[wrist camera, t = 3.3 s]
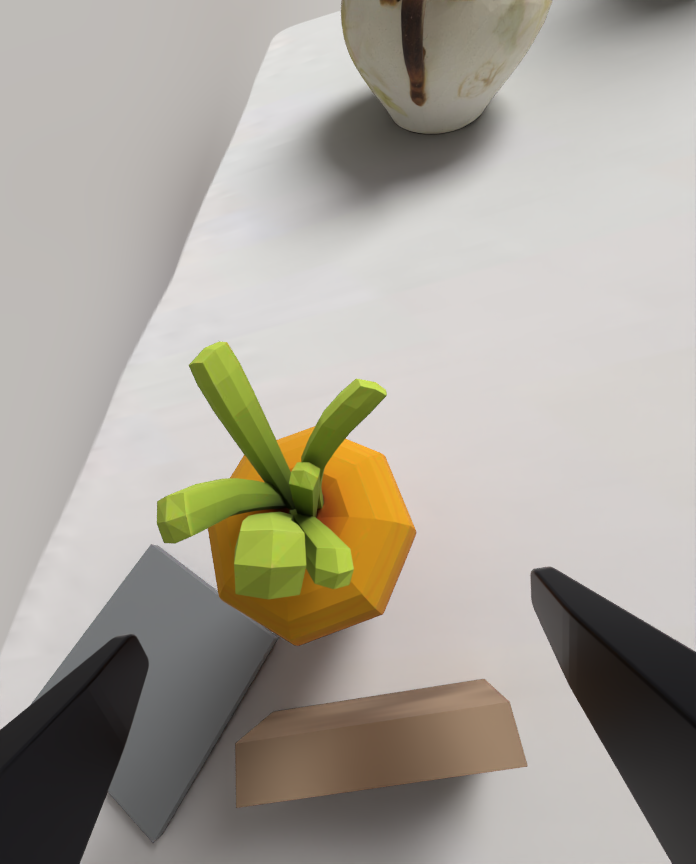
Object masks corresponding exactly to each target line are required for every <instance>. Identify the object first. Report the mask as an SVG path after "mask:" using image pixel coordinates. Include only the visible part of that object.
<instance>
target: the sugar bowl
mask: <svg viewBox="0 0 696 864" xmlns="http://www.w3.org/2000/svg"><path fill="white" fill-rule="evenodd" d="M551 3H552V0H342V2H341V21H342V29H343V35H344V40H345V43H346V46H347V49H348V52H349V55H350V57H351V59H352V61H353V63H354V65H355V66H356V68H357V70H358V71H359V73H360V75H361V76H362V78H363V79H364V81H365V82H366V83H367V85H368V86H369V88H370V89H371V90H372V92H373V93H374V94H375V96H376V97H377V98H378V99H379V101H380V102H381V103H382V105H383V106H384V107H385V108H386V110H387V111H388V113H389V114H390V116H391V117H392V119H393V120H394V122H395V123H396V124H397V125H398V126H400V127H402V128H404V129H406V130H408V131H412V132H418V133H424V134H437V133H445V132H450V131H454V130H457V129H460V128H462V127H464V126H466V125H468V124H469V123H471V122H473V121H474V120H475V119H477V118H478V117H479V116H480V115H481V114H482V112H483V111H484V109H485V108H486V106H487V105H488V103H489V102H490V101H491V99H492V98H493V97H494V95H495V94H496V93H497V92H498V90H499V89H500V88H501V87H502V85H503V84H504V83H505V82H506V80H507V79H508V78H509V76H510V75H511V74H512V73H513V71H514V70H515V69H516V67H517V66H518V65H519V63H520V62H521V60H522V59H523V57H524V56H525V54H526V53H527V51H528V50H529V48H530V47H531V45H532V43H533V42H534V40H535V38H536V36H537V34H538V33H539V31H540V29H541V27H542V25H543V24H544V22H545V19H546V17H547V14H548V11H549V9H550V6H551Z"/></svg>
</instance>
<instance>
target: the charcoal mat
mask: <svg viewBox="0 0 696 864" xmlns="http://www.w3.org/2000/svg"><path fill="white" fill-rule="evenodd" d="M125 634H134V635H136V636H137V638H138V639H139V641H140V643H141V645H142V647H143V649H144V651H145V653H146V655H147V657H148V660H149V668H148V672H147V676H146V679H145V682H144V686H143V689H142V692H141V696H140V699H139V702H138V706H137V709H136V712H135V716H134V719H133V722H132V726H131V729H130V732H129V736H128V739H127V742H126V745H125V748H124V750H123V753H122V756H121V759H120V761H119V764H118V766H117V769H116V772H115V774H114V777H113V779H112V782H111V784H110V787H109V790H108V792H109V793H110V795H111V796H112V797H113V798H114V799H115V800H116V801H117V803H118V804H119V805H120V806H121V807H122V808H123V809H124V810H125V812H126V813H127V814H128V815H129V816H130V817H131V818H132V820H133V821H134V822H135V823H136V824H137V825H138V826H139V828H140V829H141V830H142V831H143V832H144V833H145V834H146V836H147V837H148V838H149V839H150V840H151V841H152V842H153V843H154V842H155V841H156V840H157V839H158V838H159V837H160V836H161V835H162V834H163V832H164V830H165V829H166V827H167V825H168V824H169V822H170V820H171V818H172V817H173V815H174V813H175V812H176V810H177V808H178V807H179V805H180V803H181V802H182V800H183V798H184V796H185V795H186V793H187V791H188V790H189V788H190V786H191V785H192V783H193V781H194V779H195V778H196V776H197V774H198V773H199V771H200V769H201V768H202V766H203V764H204V763H205V761H206V759H207V757H208V756H209V754H210V752H211V751H212V749H213V747H214V746H215V744H216V742H217V740H218V739H219V737H220V735H221V734H222V732H223V730H224V729H225V727H226V725H227V723H228V722H229V720H230V718H231V717H232V715H233V713H234V712H235V710H236V708H237V707H238V705H239V703H240V701H241V700H242V698H243V696H244V695H245V693H246V691H247V690H248V688H249V686H250V684H251V683H252V681H253V679H254V678H255V676H256V674H257V673H258V671H259V669H260V667H261V666H262V664H263V662H264V661H265V659H266V657H267V656H268V654H269V652H270V651H271V649H272V647H273V645H274V644H275V642H276V640H277V639H278V637H277V636H276V635H274V634H273V633H272V632H270V631H269V630H268V629H267V628H265V627H264V626H263V625H261V624H259V623H258V622H256V621H254V620H253V619H251V618H250V617H248V616H246V615H245V614H243V613H241V612H240V611H238V610H237V609H235V608H233V607H232V606H230V605H228V604H227V603H225V602H224V601H222V600H221V599H220V597H219V594H218V591H217V590H215V589H214V588H213V587H211V586H210V585H209V584H207V583H206V582H205V581H204V580H202V579H201V578H200V577H198V576H197V575H196V574H194V573H193V572H192V571H190V570H189V569H188V568H186V567H185V566H184V565H183V564H181V563H180V562H179V561H177V560H176V559H175V558H173V557H172V556H171V555H169V554H168V553H167V552H165V551H164V550H163V549H162V548H160V547H159V546H156V545H152V544H151V545H150V547H149V548H148V549H147V551H146V552H145V553H144V555H143V556H142V557H141V559H140V560H139V561H138V563H137V564H136V565H135V566H134V568H133V569H132V570H131V572H130V573H129V574H128V576H127V577H126V578H125V580H124V581H123V582H122V584H121V585H120V586H119V588H118V589H117V590H116V592H115V593H114V594H113V596H112V597H111V598H110V600H109V601H108V602H107V604H106V605H105V606H104V608H103V609H102V610H101V612H100V613H99V614H98V616H97V617H96V618H95V620H94V621H93V622H92V624H91V625H90V626H89V628H88V629H87V630H86V632H85V633H84V634H83V636H82V637H81V638H80V640H79V641H78V642H77V644H76V645H75V646H74V648H73V649H72V650H71V652H70V653H69V654H68V656H67V657H66V658H65V660H64V661H63V662H62V664H61V665H60V666H59V668H58V669H57V670H56V672H55V673H54V674H53V676H52V677H51V678H50V680H49V681H48V682H47V684H46V685H45V686H44V688H43V689H42V690H41V692H40V693H39V694H38V696H37V697H36V698H35V700H34V701H33V702H32V704H33V703H34V702H35V701H36V700H38V699H39V698H40V697H41V696H42V695H44V694H45V693H46V692H47V691H49V690H50V689H51V688H52V687H53V686H55V685H56V684H57V683H58V682H60V681H61V680H62V679H63V678H64V677H66V676H67V675H68V674H69V673H71V672H72V671H73V670H74V669H75V668H77V667H78V666H79V665H80V664H82V663H83V662H84V661H85V660H86V659H88V658H89V657H90V656H91V655H92V654H94V653H95V652H96V651H97V650H99V649H100V648H101V647H102V646H103V645H105V644H106V643H107V642H108V641H110V640H111V639H112V638H114V637H116V636H119V635H125Z"/></svg>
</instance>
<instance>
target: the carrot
mask: <svg viewBox="0 0 696 864" xmlns="http://www.w3.org/2000/svg"><path fill="white" fill-rule="evenodd" d="M189 367H190V369H191V372H192V374H193V376H194V378H195V380H196V383H197V385H198V387H199V388H200V390H201V391H202V393H203V395H204V396H205V398H206V400H207V401H208V403H209V404H210V406H211V408H212V409H213V411H214V412H215V414H216V415H217V417H218V418H219V419H220V421H221V422H222V424H223V425H224V427H225V428H226V429H227V431H228V432H229V434H230V435H231V436H232V438H233V439H234V441H235V442H236V443H237V445H238V446H239V448H240V449H241V450H242V452H243V453H244V456H243V458H242V460H241V461H240V463H239V464H238V466H237V468H236V469H235V471H234V472H233V474H232V476H231V477H230V478H229V479H219V480H214V481H209V482H204V483H199V484H195V485H193V486H190V487H188V488H185V489H183V490H180V491H178V492H175V493H173V494H170V495H168V496H166V497H164V498H162V499H161V500H159V501H157V525H158V528H159V531H160V533H161V536H162V539H163V541H164V543H177V542H179V541H182V540H184V539H186V538H189V537H191V536H193V535H195V534H197V533H199V532H201V531H203V530H205V529H207V528H208V532H209V538H210V545H211V551H212V557H213V563H214V569H215V576H216V582H217V588H218V594H219V597H220V599H221V600H222V601H224V602H225V603H227V604H228V605H230V606H232V607H233V608H235V609H237V610H238V611H240V612H241V613H243V614H245V615H246V616H248V617H250V618H251V619H253V620H254V621H256V622H258V623H259V624H261V625H263V626H264V627H266V628H267V629H269V630H271V631H272V632H274V633H275V634H277V635H279V636H280V637H282V638H284V639H285V640H287V641H288V642H290V643H292V644H293V645H297V646H300V645H302V644H305V643H308V642H310V641H313V640H316V639H318V638H321V637H324V636H326V635H329V634H332V633H334V632H337V631H340V630H342V629H345V628H348V627H350V626H353V625H356V624H358V623H361V622H364V621H366V620H369V619H372V618H374V617H377V616H380V615H382V614H383V613H384V611H385V609H386V606H387V604H388V602H389V599H390V597H391V594H392V592H393V589H394V587H395V585H396V582H397V580H398V577H399V575H400V572H401V570H402V568H403V565H404V563H405V560H406V558H407V555H408V553H409V551H410V548H411V546H412V543H413V540H414V538H415V535H416V530H415V527H414V525H413V523H412V520H411V518H410V515H409V513H408V510H407V508H406V506H405V503H404V501H403V498H402V496H401V493H400V491H399V489H398V486H397V484H396V481H395V479H394V477H393V474H392V472H391V469H390V467H389V464H388V462H387V460H386V457H385V456H384V455H383V454H381V453H379V452H377V451H374V450H372V449H369V448H367V447H364V446H362V445H360V444H357V443H355V442H352V441H350V440H347V439H345V438H346V437H347V436H348V435H349V433H350V432H351V431H352V430H353V429H354V428H355V427H356V426H357V425H358V424H359V423H360V422H361V421H363V420H364V419H365V418H366V417H367V416H368V415H369V414H370V413H371V412H372V411H373V410H374V408H375V407H376V406H377V405H378V404H379V403H380V402H381V401H382V400H383V399H384V398H385V397H386V396H387V393H386V390H385V389H384V388H382V387H381V386H380V385H379V384H377V383H376V382H371V381H366V380H361V379H355V380H354V381H353V382H352V383H351V384H349V385H348V386H347V387H346V388H345V389H344V390H343V391H341V392H340V393H339V395H338V396H337V397H336V398H335V399H334V400H333V401H332V402H331V404H330V405H329V406H328V407H327V408H326V409H325V410H324V412H323V413H322V415H321V417H320V419H319V421H318V422H317V424H316V426H314V427H312V428H309V429H306V430H303V431H301V432H298V433H295V434H292V435H290V436H287V437H284V438H281V439H279V440H276V439H275V436H274V434H273V432H272V430H271V428H270V426H269V423H268V421H267V419H266V417H265V415H264V413H263V410H262V408H261V406H260V404H259V402H258V400H257V398H256V395H255V393H254V391H253V389H252V387H251V385H250V383H249V381H248V379H247V377H246V375H245V373H244V371H243V369H242V367H241V365H240V363H239V361H238V359H237V358H236V356H235V355H234V353H233V351H232V350H231V348H230V346H229V345H228V343H227V342H217V343H215V344H213V345H210V346H208V347H206V348H204V349H203V350H202V351H201V352H200V353H199V355H198V356H197V357H196V358H195V359H194V360H193V361H192V362H191V363H190V364H189Z"/></svg>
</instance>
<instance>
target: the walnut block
mask: <svg viewBox="0 0 696 864" xmlns="http://www.w3.org/2000/svg"><path fill="white" fill-rule="evenodd" d="M235 763H236V808H240V807H247V806H254V805H261V804H268V803H275V802H282V801H289V800H296V799H303V798H310V797H317V796H324V795H331V794H338V793H345V792H352V791H359V790H366V789H373V788H380V787H387V786H394V785H401V784H408V783H415V782H422V781H429V780H436V779H443V778H450V777H457V776H464V775H471V774H478V773H485V772H492V771H499V770H506V769H513V768H520V767H527V762H526V759H525V755H524V752H523V748H522V744H521V741H520V737H519V734H518V730H517V727H516V723H515V719H514V716H513V712H512V709H511V705H510V702H509V701H508V700H507V699H506V698H505V697H504V696H503V695H502V694H500V693H499V692H498V691H497V690H496V689H495V688H494V687H493V686H492V685H491V684H489V683H488V682H487V681H486V680H485V679H480V680H474V681H467V682H461V683H454V684H448V685H442V686H435V687H429V688H422V689H416V690H410V691H403V692H397V693H390V694H384V695H377V696H371V697H365V698H358V699H352V700H345V701H339V702H333V703H326V704H320V705H313V706H307V707H301V708H294V709H288V710H281V711H275V712H272V713H271V714H270V715H269V716H267V717H266V718H265V719H264V720H263V721H261V722H260V723H259V724H258V725H257V726H256V727H254V728H253V729H252V730H251V731H250V732H248V733H247V734H246V735H245V736H244V737H242V738H241V739H240V740H239V741H238V742H237V743H235Z"/></svg>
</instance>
